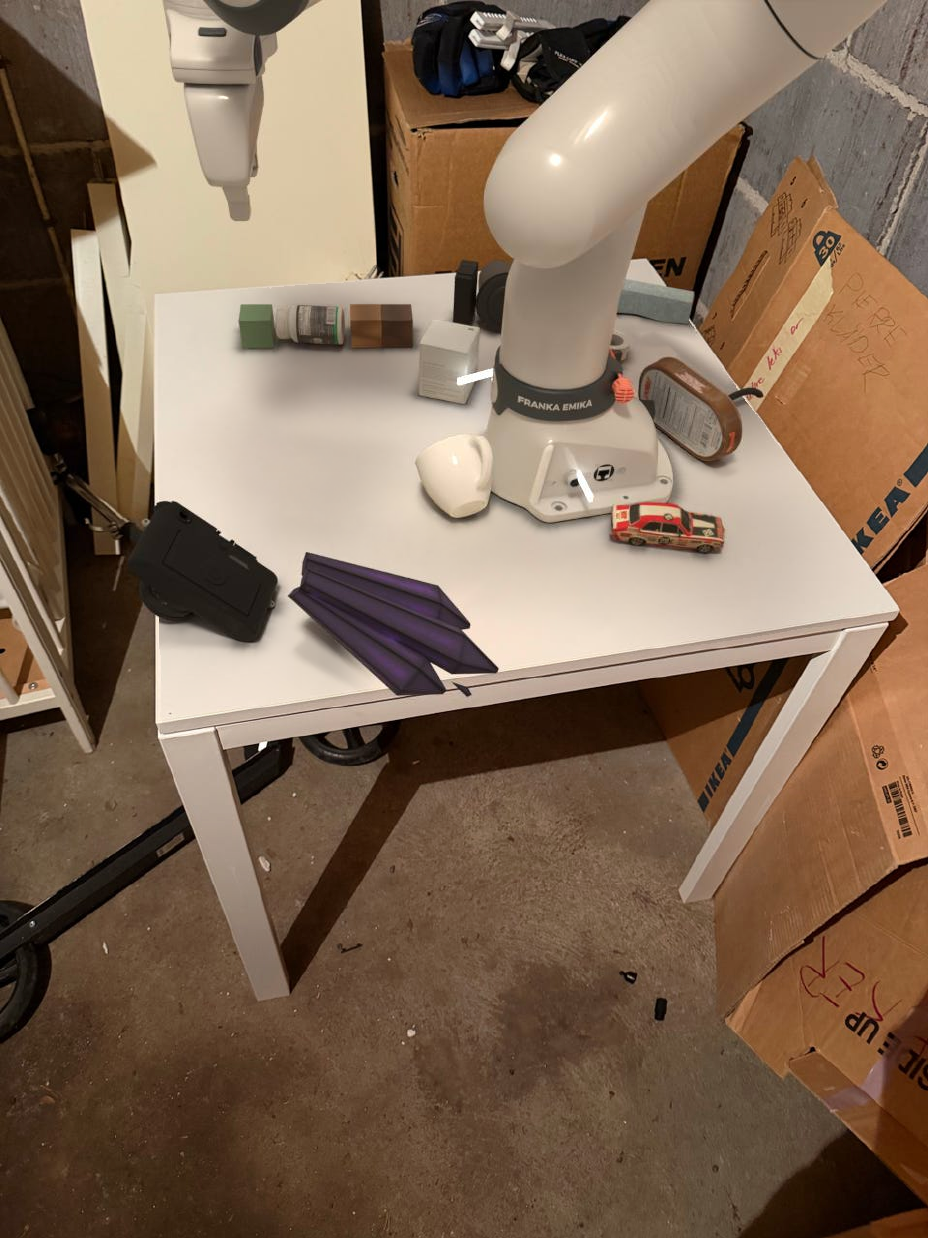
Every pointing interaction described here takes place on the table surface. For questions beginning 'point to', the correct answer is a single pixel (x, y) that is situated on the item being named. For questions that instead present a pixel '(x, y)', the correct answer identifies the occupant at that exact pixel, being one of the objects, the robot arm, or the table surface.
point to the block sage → (257, 325)
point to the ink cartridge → (465, 292)
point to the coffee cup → (492, 293)
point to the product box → (448, 360)
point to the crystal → (390, 624)
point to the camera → (200, 573)
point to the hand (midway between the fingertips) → (245, 195)
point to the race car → (666, 526)
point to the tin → (691, 409)
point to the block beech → (366, 325)
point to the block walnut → (397, 326)
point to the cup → (457, 473)
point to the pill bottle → (311, 324)
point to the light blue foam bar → (656, 301)
